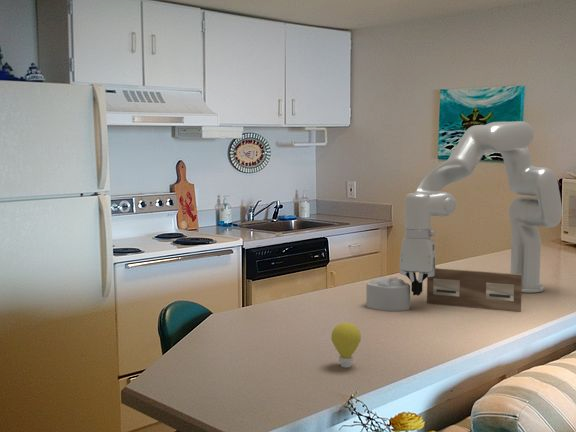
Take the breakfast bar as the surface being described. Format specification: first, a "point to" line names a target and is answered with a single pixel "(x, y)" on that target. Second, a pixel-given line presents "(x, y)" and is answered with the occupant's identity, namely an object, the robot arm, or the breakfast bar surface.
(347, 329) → the light bulb
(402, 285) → the lumpy-topped squat cylinder
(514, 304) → the wooden panel
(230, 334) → the breakfast bar surface
